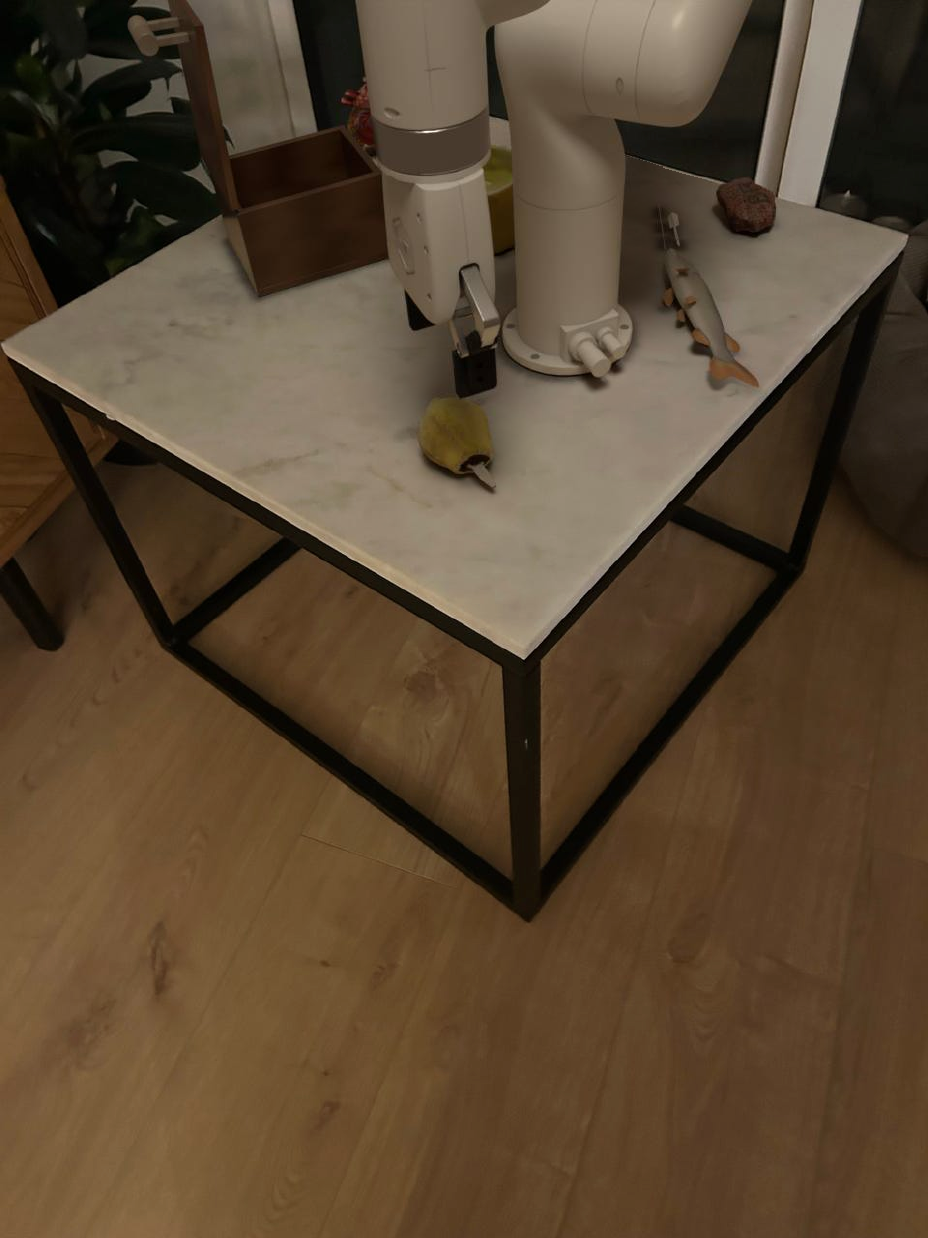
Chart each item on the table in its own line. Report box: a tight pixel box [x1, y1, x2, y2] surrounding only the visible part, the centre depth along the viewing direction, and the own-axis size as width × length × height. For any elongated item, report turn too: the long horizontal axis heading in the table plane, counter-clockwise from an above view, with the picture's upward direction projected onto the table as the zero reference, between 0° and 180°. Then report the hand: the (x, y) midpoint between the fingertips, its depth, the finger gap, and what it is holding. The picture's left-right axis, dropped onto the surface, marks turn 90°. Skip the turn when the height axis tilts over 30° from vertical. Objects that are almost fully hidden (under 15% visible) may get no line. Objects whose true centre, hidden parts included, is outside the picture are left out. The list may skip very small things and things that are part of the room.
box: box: [209, 124, 389, 298], centre depth 106 cm, size 16×13×9 cm
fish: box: [663, 248, 760, 388], centre depth 94 cm, size 4×21×5 cm
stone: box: [715, 176, 777, 233], centre depth 105 cm, size 7×7×3 cm
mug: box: [483, 144, 515, 255], centre depth 105 cm, size 12×10×10 cm
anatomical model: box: [340, 76, 376, 150], centre depth 116 cm, size 11×4×15 cm
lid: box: [127, 0, 239, 211], centre depth 93 cm, size 16×13×5 cm
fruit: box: [417, 396, 497, 489], centre depth 83 cm, size 6×6×10 cm
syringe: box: [657, 202, 680, 251], centre depth 106 cm, size 10×2×2 cm, turn 177°
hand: (451, 356), depth 76 cm, fingers open, 9 cm apart
